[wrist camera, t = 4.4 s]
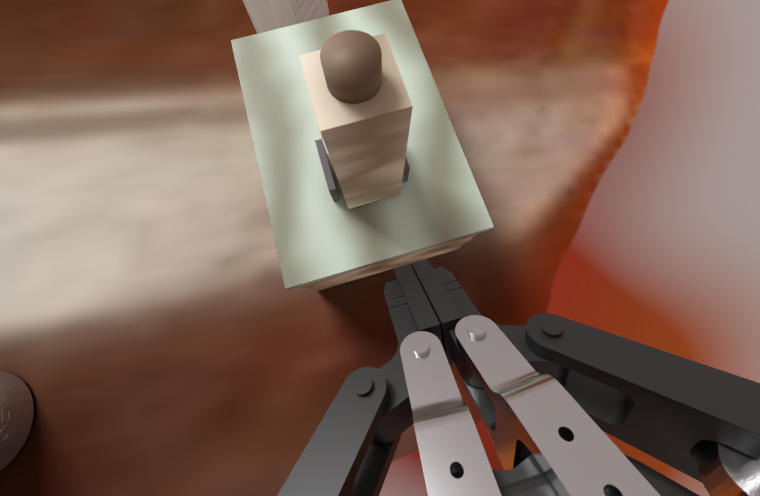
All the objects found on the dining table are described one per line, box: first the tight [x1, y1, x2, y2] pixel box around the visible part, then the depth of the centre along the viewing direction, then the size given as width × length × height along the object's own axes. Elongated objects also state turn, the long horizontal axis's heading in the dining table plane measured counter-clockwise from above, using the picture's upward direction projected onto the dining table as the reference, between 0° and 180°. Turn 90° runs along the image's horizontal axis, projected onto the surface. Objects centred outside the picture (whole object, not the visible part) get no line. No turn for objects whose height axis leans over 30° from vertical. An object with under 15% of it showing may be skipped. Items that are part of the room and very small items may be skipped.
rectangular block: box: [231, 0, 494, 291], centre depth 25 cm, size 16×23×10 cm
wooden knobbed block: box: [299, 30, 413, 209], centre depth 16 cm, size 4×4×10 cm
